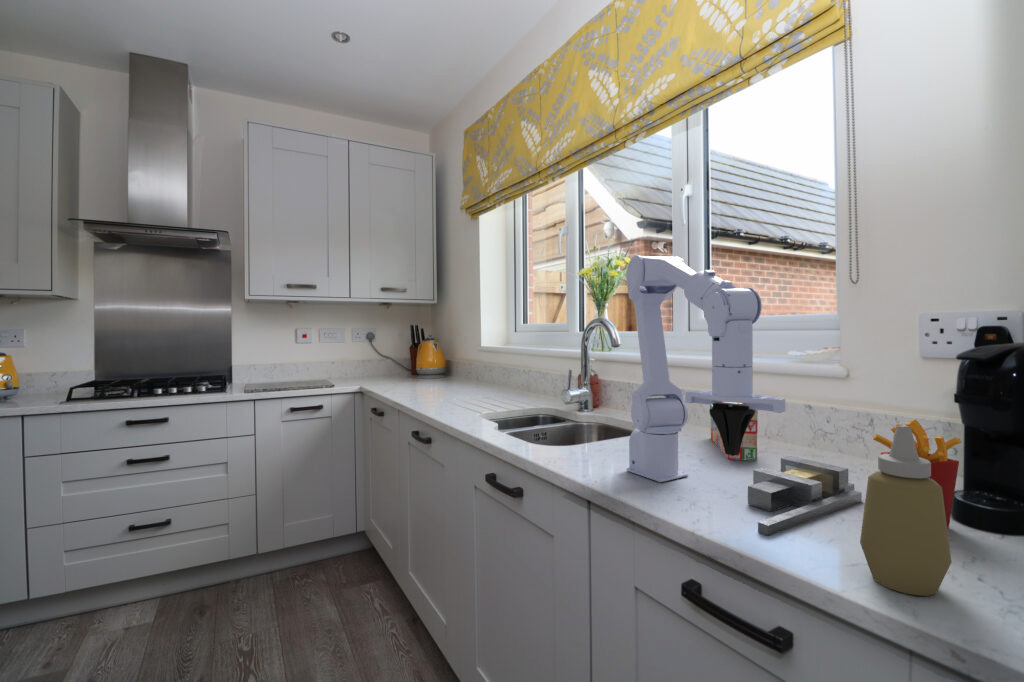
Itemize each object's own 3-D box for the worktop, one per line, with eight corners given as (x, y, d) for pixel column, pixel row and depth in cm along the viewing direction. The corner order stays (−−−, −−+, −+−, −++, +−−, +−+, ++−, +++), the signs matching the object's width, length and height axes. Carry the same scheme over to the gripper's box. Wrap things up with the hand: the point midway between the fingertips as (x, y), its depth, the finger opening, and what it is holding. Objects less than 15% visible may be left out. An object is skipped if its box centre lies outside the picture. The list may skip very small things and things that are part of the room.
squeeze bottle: (842, 568, 59) (843, 421, 58) (904, 564, 59) (904, 418, 59) (902, 606, 51) (902, 435, 50) (972, 601, 51) (973, 432, 51)
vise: (697, 509, 78) (697, 478, 78) (796, 480, 92) (796, 454, 92) (768, 536, 68) (767, 500, 68) (867, 498, 82) (867, 469, 82)
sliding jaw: (731, 498, 83) (731, 475, 83) (764, 489, 87) (763, 467, 87) (789, 517, 74) (789, 492, 74) (822, 506, 79) (822, 482, 79)
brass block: (780, 495, 85) (780, 472, 85) (796, 490, 87) (796, 468, 87) (803, 502, 81) (803, 478, 81) (819, 496, 84) (819, 474, 84)
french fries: (961, 529, 69) (962, 425, 69) (912, 534, 68) (912, 428, 68) (903, 507, 78) (903, 415, 78) (858, 511, 77) (858, 417, 76)
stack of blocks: (709, 438, 129) (709, 392, 128) (735, 439, 127) (735, 393, 127) (727, 460, 108) (727, 405, 107) (758, 461, 106) (757, 405, 106)
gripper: (792, 366, 72) (793, 457, 72) (699, 362, 83) (700, 441, 83) (774, 369, 67) (775, 466, 67) (678, 365, 78) (679, 448, 78)
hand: (732, 453), depth 75 cm, fingers closed
